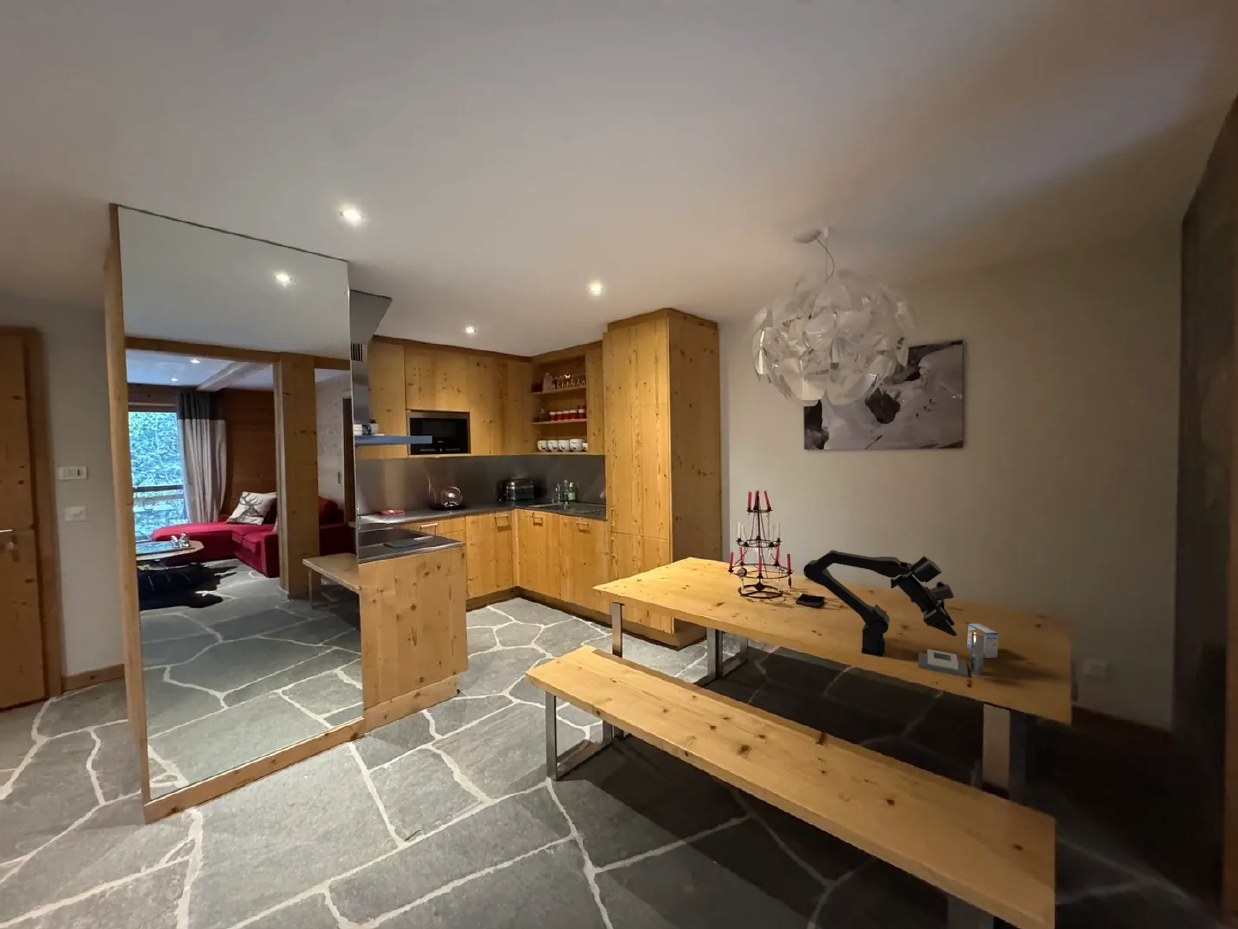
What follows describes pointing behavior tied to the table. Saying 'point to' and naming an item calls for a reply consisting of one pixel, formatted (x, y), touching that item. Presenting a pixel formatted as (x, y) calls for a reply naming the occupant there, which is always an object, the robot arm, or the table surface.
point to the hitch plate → (960, 666)
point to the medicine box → (985, 640)
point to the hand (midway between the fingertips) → (954, 630)
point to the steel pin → (977, 652)
